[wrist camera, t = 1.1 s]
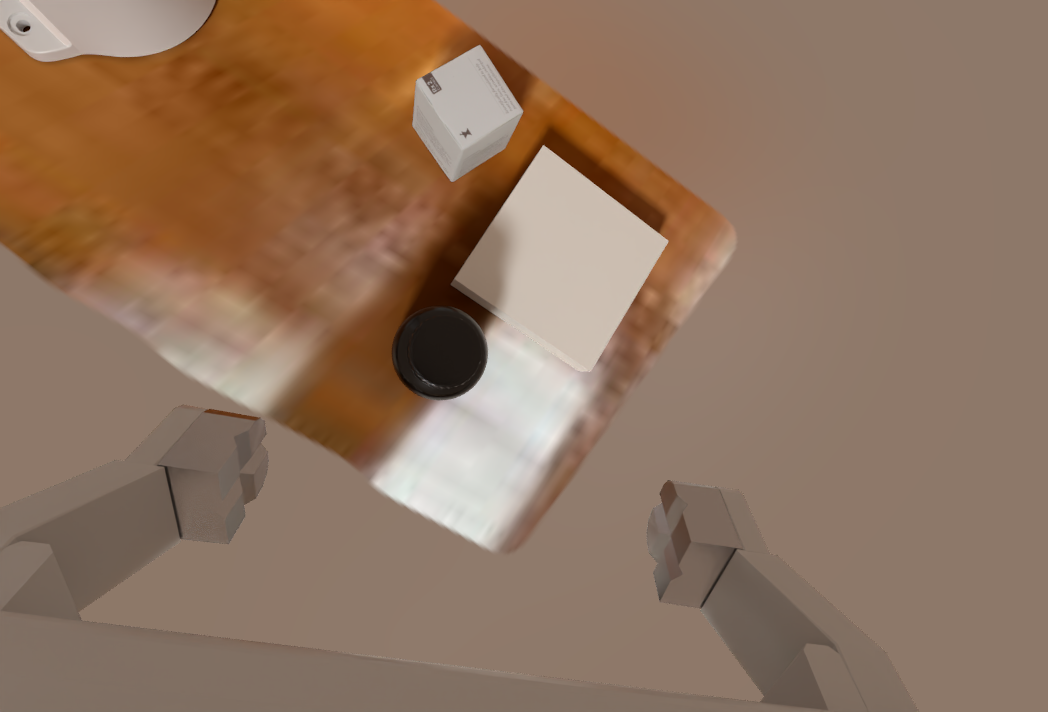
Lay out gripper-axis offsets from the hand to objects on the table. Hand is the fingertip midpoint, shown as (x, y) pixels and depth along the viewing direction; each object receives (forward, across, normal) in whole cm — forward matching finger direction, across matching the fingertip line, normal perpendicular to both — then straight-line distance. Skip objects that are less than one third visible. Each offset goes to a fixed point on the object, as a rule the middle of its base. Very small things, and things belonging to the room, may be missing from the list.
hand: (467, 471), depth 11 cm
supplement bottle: (+31, +4, +18) cm, 36 cm away
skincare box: (+42, +5, +2) cm, 43 cm away
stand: (+38, -5, +10) cm, 40 cm away
